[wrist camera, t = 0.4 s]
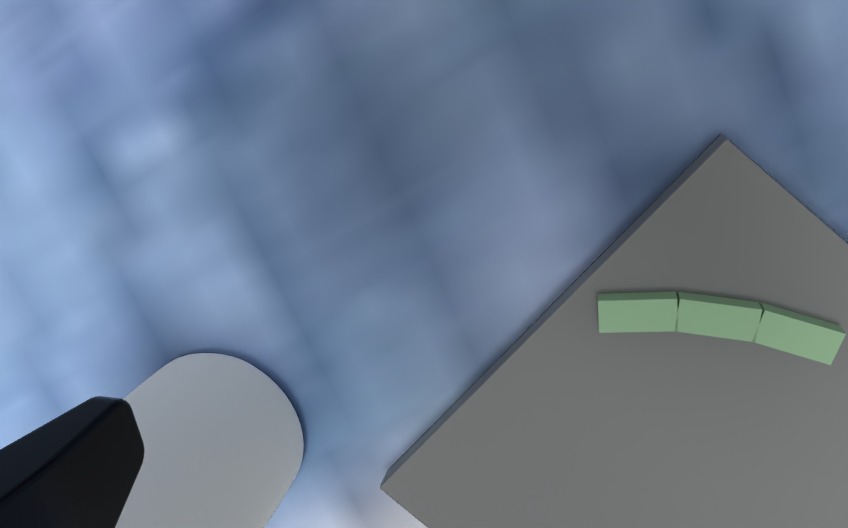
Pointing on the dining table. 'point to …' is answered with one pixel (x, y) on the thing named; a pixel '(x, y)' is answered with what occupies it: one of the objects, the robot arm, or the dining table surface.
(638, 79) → the dining table surface
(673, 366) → the dial board
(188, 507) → the can
